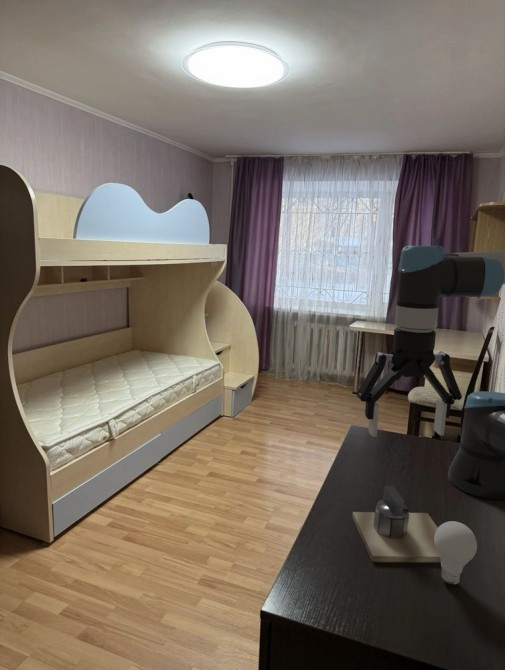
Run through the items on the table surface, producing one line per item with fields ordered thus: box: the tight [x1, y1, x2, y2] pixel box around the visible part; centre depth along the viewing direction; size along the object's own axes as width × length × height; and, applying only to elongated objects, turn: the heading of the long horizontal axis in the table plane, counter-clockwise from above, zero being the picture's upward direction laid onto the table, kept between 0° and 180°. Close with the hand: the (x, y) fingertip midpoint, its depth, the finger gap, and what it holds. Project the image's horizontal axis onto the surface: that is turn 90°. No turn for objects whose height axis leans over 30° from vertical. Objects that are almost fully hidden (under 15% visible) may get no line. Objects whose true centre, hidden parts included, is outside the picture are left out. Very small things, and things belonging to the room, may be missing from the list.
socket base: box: [351, 511, 441, 563], centre depth 92 cm, size 16×14×4 cm
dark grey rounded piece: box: [374, 485, 410, 539], centre depth 92 cm, size 6×6×8 cm
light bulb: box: [434, 520, 478, 585], centre depth 80 cm, size 7×7×11 cm
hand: (405, 433), depth 93 cm, fingers open, 13 cm apart
